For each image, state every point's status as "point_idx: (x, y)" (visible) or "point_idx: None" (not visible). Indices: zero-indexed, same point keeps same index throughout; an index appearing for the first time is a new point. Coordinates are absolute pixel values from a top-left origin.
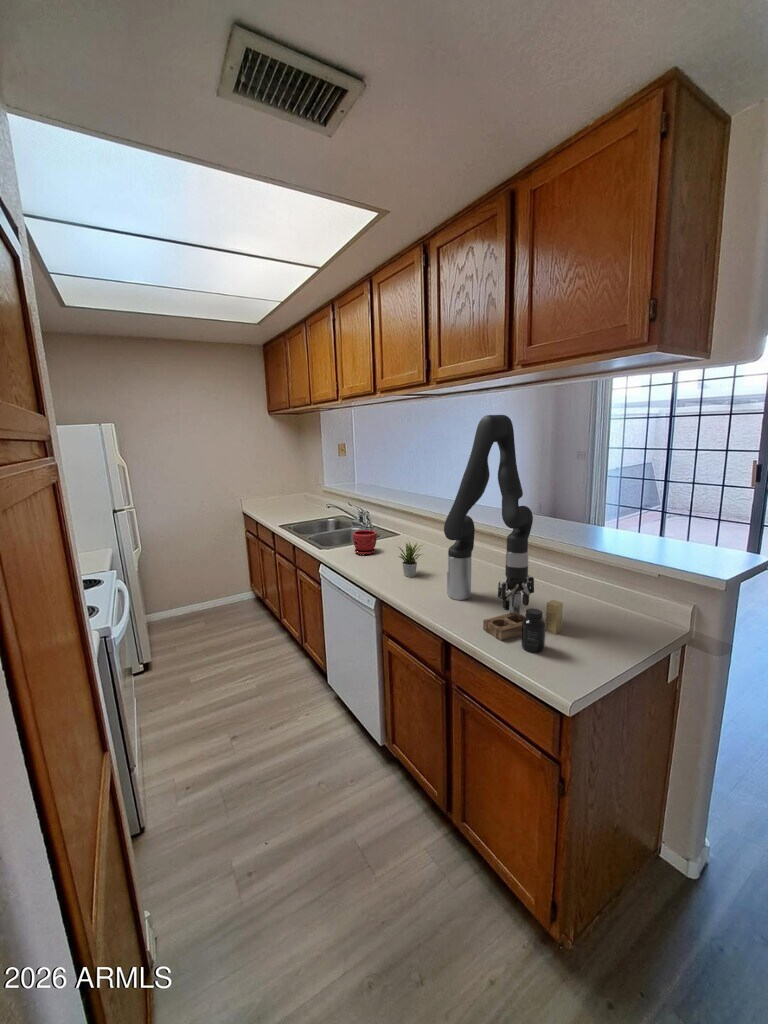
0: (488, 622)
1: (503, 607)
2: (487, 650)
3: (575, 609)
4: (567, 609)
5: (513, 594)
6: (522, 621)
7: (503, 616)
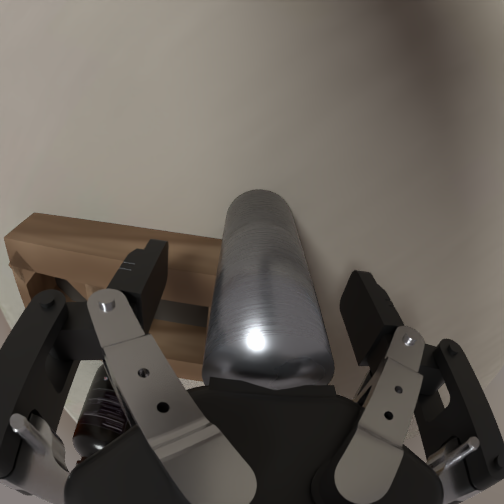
0: (15, 270)
1: (132, 258)
2: (9, 314)
3: (497, 307)
4: (492, 295)
5: (206, 381)
6: (74, 438)
7: (109, 274)
